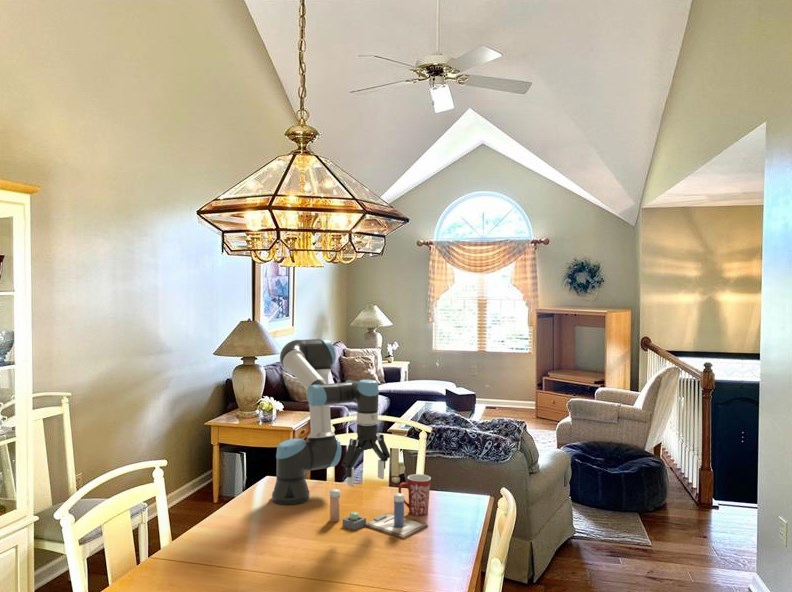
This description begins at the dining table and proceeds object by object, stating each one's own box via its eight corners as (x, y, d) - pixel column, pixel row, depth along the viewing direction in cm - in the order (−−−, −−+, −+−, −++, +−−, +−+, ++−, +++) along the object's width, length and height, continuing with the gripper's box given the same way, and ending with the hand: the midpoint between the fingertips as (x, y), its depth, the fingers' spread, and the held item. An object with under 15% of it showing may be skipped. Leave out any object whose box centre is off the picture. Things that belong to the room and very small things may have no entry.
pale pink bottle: (327, 520, 217) (327, 490, 217) (334, 517, 220) (334, 488, 220) (334, 523, 215) (334, 492, 215) (341, 520, 218) (341, 490, 218)
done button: (348, 520, 212) (348, 513, 212) (354, 517, 215) (354, 511, 215) (354, 522, 210) (354, 515, 210) (360, 519, 213) (360, 513, 213)
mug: (426, 507, 231) (427, 473, 231) (433, 515, 223) (433, 480, 223) (395, 509, 229) (395, 475, 229) (401, 518, 220) (401, 482, 220)
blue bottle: (391, 526, 210) (391, 495, 210) (398, 522, 212) (398, 492, 212) (399, 528, 207) (400, 497, 207) (406, 525, 210) (406, 494, 210)
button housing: (342, 526, 212) (342, 519, 212) (353, 521, 217) (354, 514, 217) (354, 530, 208) (354, 523, 208) (366, 525, 213) (366, 518, 213)
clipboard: (364, 526, 212) (364, 521, 212) (388, 515, 223) (389, 511, 223) (403, 539, 201) (403, 534, 201) (427, 526, 212) (427, 522, 212)
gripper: (345, 430, 201) (343, 492, 202) (400, 420, 217) (399, 477, 218) (332, 426, 207) (331, 486, 207) (387, 416, 223) (386, 472, 224)
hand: (366, 481), depth 213 cm, fingers open, 13 cm apart
